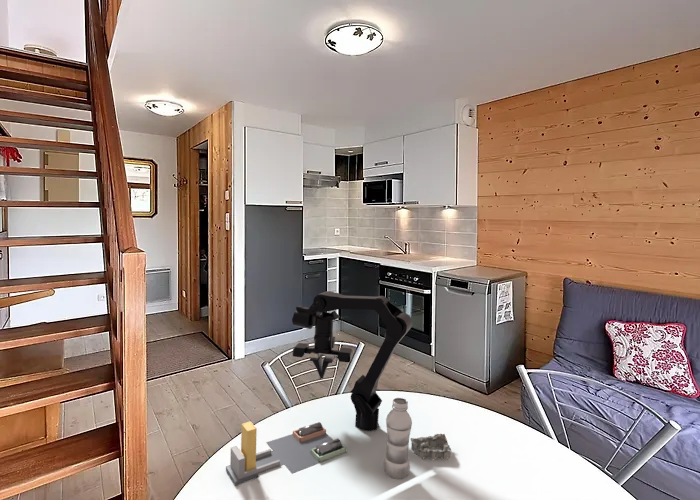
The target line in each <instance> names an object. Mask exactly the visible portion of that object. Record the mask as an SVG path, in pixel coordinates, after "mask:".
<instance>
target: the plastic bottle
mask: <svg viewBox="0 0 700 500" xmlns="http://www.w3.org/2000/svg"><path fill="white" fill-rule="evenodd" d="M408 403H409V402H408V400H407V399H405V398H403V397H396V398H393V400H392V404H391V405H392V406H391V408H392V409H391V410H390V412H388V414H387V416H386V419H385V424H386V436H387V437H386V438H387V439H386V442H387V443H386V453H385V456H384V461H383V469H384V472H385V473H386V475H387V476H388V477H390V478H391V479H396V480H402V479H405V478H407V477H408V476H409V473H410V469H411V465H410V454H409V445H410V444H409V443H410V436H411V432H412V431H411V430H412V425H413V419H412V417H411V415H410V413H409V411H408V410H409V409H408V408H409V405H408Z"/></svg>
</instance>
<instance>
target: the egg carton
mask: <svg viewBox="0 0 700 500" xmlns="http://www.w3.org/2000/svg"><path fill="white" fill-rule="evenodd" d="M410 442H411V444H410V445H411V447H410V449H411V451H413V454H415V456H417V457H418V458H419V459H421V460H424V459H425V458H429V459H430V460H431V461H435V460H436V459H437V458H441V459H442V460H447V461H448V458H450V457H451V452H452V449H451V446H450V445H449V442H448V440H447V437H446V434H445V433H436V434H434V435H433V436H432V435H429V436H425V437H424V436H420V437H417V438H415V437H410ZM437 446H439V447H440V448H441V447H442V448H443V449H438V448H437ZM418 447H419V448H418ZM430 448H432V449H430ZM434 448H437V449H434Z"/></svg>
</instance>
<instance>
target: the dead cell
mask: <svg viewBox="0 0 700 500" xmlns="http://www.w3.org/2000/svg"><path fill="white" fill-rule="evenodd" d="M322 426H323V424H322V422H321V421H318V422H315V423H312V424H309V425H306V426H303V427H300V428H298V429H299V436H300V437H303V436H306V435H309V434H312V433H315V432H318V431H321V430H323V427H324V426H323V427H322Z"/></svg>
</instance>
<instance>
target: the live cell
mask: <svg viewBox="0 0 700 500" xmlns="http://www.w3.org/2000/svg"><path fill="white" fill-rule="evenodd" d="M341 443H342V441H341V439H340V438H335V439H333V440H331V441H329V442H326V443H323V444H320V445H317V446H316V452H317V455H318V456H319V457H320V456H323V455H325V454H328V453H331V452H333V451H336V450H339V449H341V447H342V444H343V443H342V444H341Z"/></svg>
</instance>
